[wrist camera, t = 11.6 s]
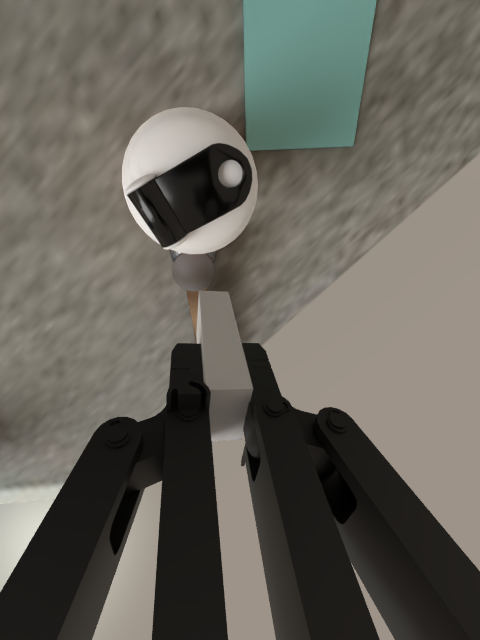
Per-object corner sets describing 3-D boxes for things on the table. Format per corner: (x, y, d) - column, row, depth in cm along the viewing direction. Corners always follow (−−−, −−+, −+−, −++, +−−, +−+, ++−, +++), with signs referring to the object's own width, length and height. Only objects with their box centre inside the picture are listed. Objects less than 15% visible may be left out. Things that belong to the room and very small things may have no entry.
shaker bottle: (243, 177, 34) (294, 213, 18) (187, 222, 36) (185, 293, 20) (196, 101, 30) (204, 53, 13) (134, 157, 32) (73, 178, 15)
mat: (242, -15, 26) (243, -18, 25) (375, -12, 27) (378, -15, 27) (245, 150, 33) (246, 150, 32) (351, 146, 34) (353, 146, 34)
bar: (171, 238, 36) (168, 254, 31) (209, 235, 36) (212, 250, 31) (194, 363, 47) (195, 389, 42) (223, 359, 48) (226, 384, 43)
